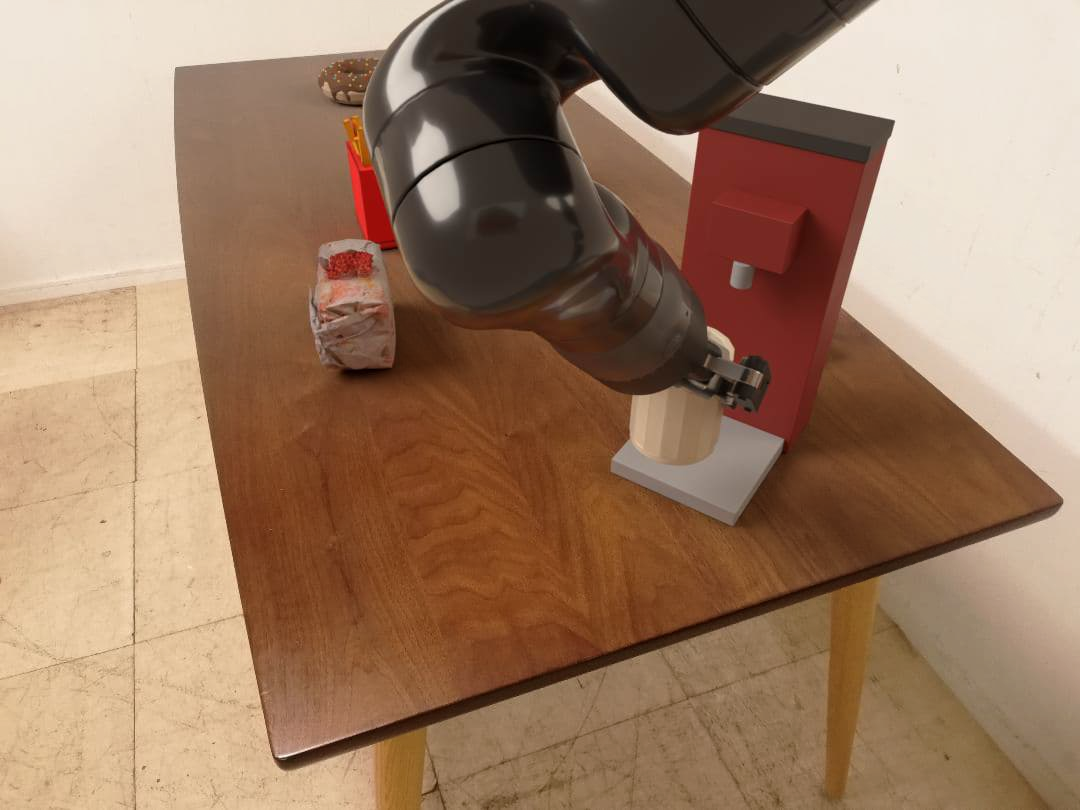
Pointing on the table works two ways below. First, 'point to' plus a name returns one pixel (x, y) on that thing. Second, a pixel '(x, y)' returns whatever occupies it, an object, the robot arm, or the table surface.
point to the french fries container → (367, 189)
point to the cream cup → (678, 421)
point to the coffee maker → (769, 276)
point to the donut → (347, 80)
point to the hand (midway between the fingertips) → (689, 377)
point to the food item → (353, 307)
